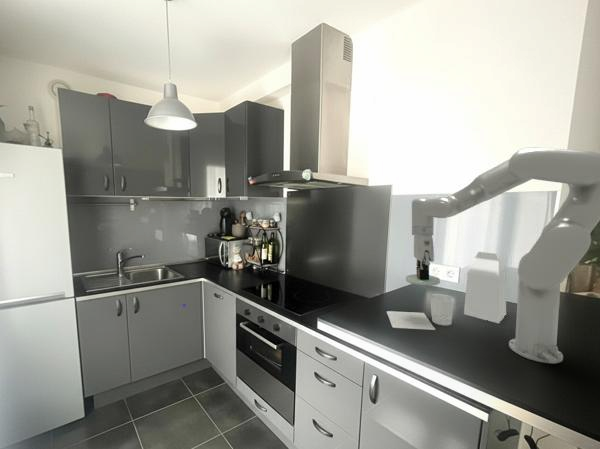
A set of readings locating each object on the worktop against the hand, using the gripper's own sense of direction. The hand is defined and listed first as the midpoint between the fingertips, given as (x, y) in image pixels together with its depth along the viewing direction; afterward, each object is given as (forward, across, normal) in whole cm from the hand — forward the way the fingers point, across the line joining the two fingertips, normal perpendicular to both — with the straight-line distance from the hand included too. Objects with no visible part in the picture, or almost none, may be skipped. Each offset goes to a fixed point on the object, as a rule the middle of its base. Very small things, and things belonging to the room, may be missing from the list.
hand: (422, 277), depth 104 cm
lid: (+1, 0, 0) cm, 1 cm away
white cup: (+18, 0, -7) cm, 19 cm away
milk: (+18, +10, -27) cm, 34 cm away
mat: (+18, 0, +5) cm, 18 cm away
